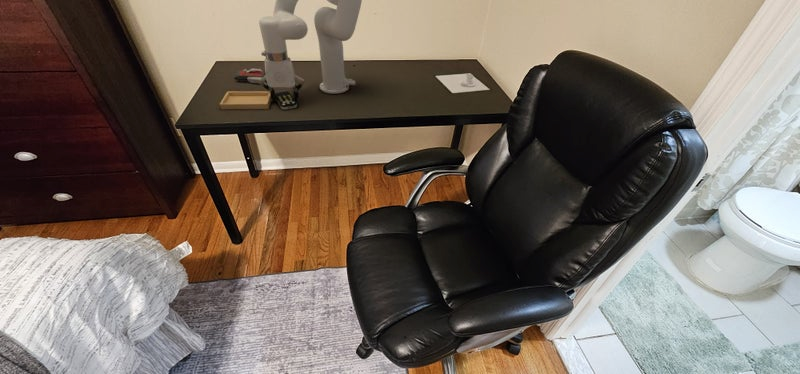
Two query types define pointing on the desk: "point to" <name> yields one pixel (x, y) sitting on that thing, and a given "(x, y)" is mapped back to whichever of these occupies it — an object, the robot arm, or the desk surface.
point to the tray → (246, 100)
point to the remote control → (285, 100)
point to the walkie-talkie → (250, 75)
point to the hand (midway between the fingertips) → (285, 99)
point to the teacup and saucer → (461, 83)
